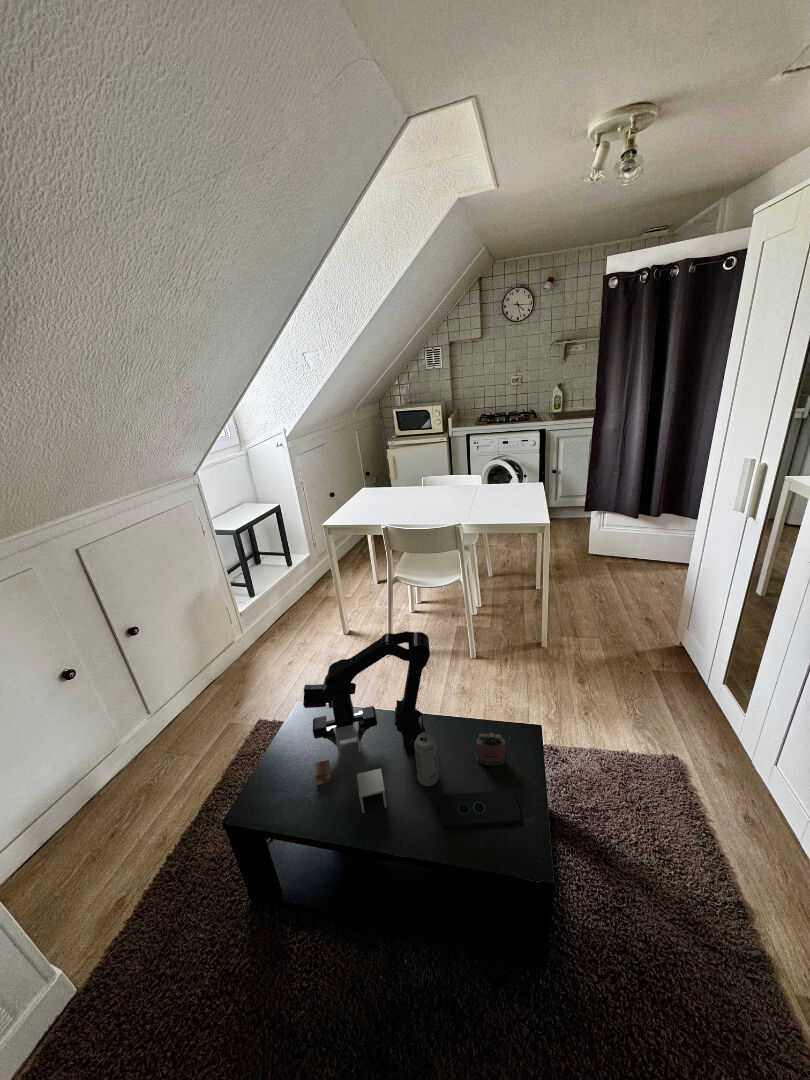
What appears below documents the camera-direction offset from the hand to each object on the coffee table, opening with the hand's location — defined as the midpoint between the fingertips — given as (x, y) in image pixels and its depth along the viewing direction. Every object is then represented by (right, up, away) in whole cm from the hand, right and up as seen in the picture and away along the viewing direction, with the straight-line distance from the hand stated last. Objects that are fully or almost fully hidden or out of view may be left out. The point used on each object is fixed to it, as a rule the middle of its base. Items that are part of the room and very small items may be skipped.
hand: (348, 742), depth 129 cm
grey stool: (+9, -8, -15) cm, 19 cm away
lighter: (+42, -2, -6) cm, 43 cm away
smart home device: (+37, -9, -19) cm, 42 cm away
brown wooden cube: (-6, -7, -7) cm, 12 cm away
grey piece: (0, -1, +1) cm, 1 cm away
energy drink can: (+24, -5, -10) cm, 27 cm away
